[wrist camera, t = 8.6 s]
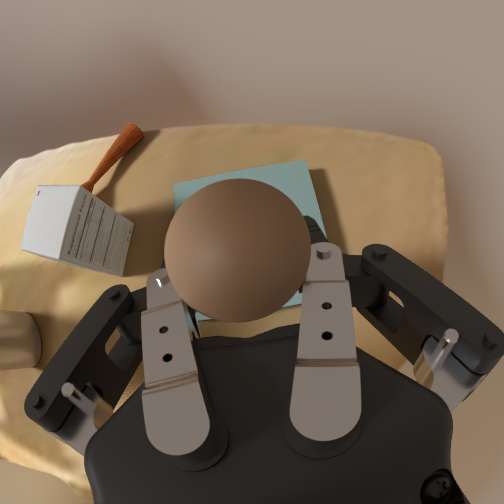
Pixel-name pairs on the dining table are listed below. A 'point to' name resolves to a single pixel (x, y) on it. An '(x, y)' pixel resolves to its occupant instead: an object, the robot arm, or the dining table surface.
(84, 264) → the supplement box
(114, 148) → the kendama
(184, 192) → the board
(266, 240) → the peg
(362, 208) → the dining table surface
